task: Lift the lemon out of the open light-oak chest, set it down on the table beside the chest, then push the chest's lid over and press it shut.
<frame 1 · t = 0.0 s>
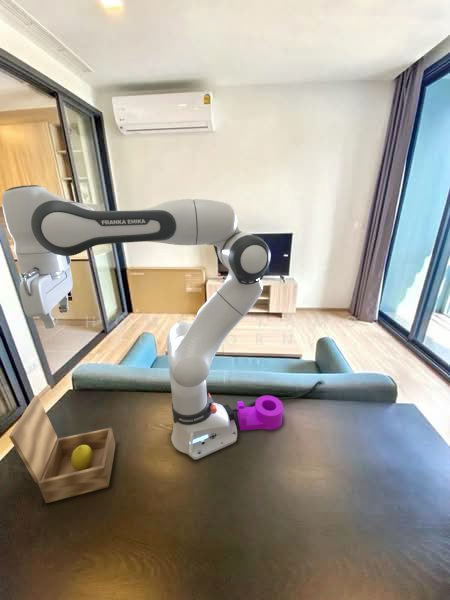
hand: (58, 318, 62), 48 cm above the table, tool pointing down, fingers open, 8 cm apart
lid: (36, 436, 66), point 16 cm above the table, hinge at 95.0°
lemon: (83, 469, 74), point 1 cm above the table, touching chest
magenta bearing bracket: (260, 419, 92), on the table
chest: (84, 471, 74), on the table
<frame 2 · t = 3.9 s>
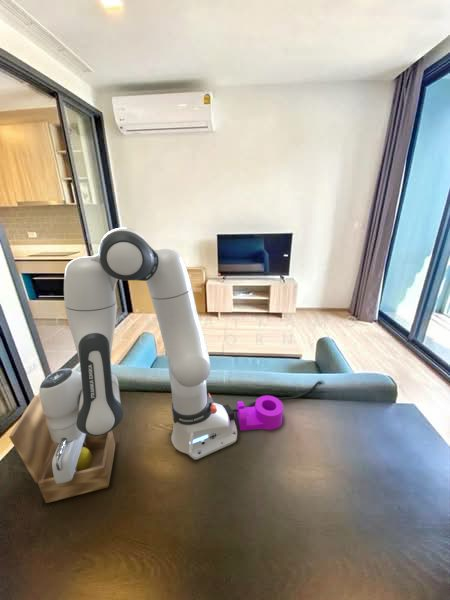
hand: (78, 461, 73), 4 cm above the table, tool pointing down, fingers closed on chest, 7 cm apart
nothing on the table moved.
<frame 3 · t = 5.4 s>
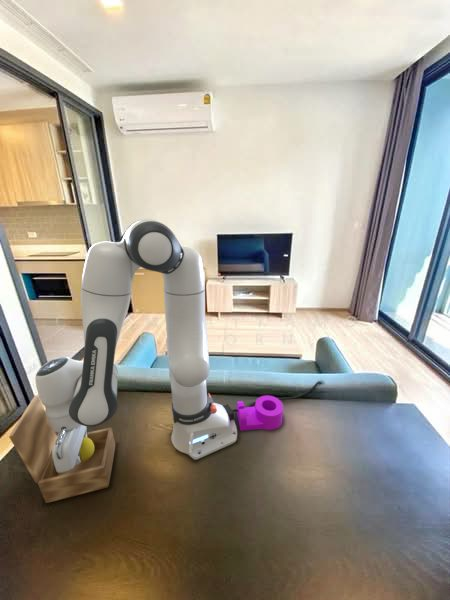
hand: (80, 451, 72), 8 cm above the table, tool pointing down, fingers closed on lemon, 5 cm apart
lemon: (87, 460, 73), point 4 cm above the table, touching gripper
everything else where it was.
when the fingers open (3 cm above the table, at t = 11.9 s): lemon stays where it is, on the table.
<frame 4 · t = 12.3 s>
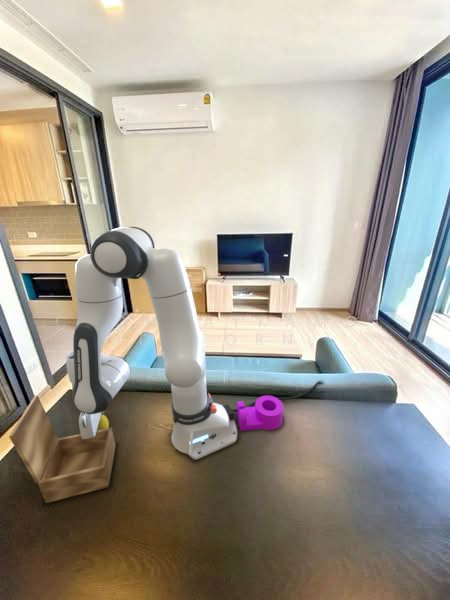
hand: (98, 425, 85), 4 cm above the table, tool pointing down, fingers open, 8 cm apart
lemon: (102, 434, 87), on the table
everything else where it was.
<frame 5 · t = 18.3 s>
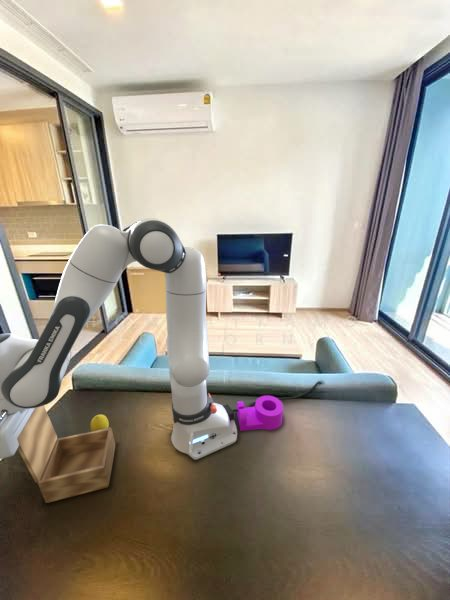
hand: (29, 438, 66), 16 cm above the table, tool pointing down, fingers closed, pressing on lid
lid: (37, 436, 67), point 16 cm above the table, hinge at 93.5°, touching gripper
everything else where it was.
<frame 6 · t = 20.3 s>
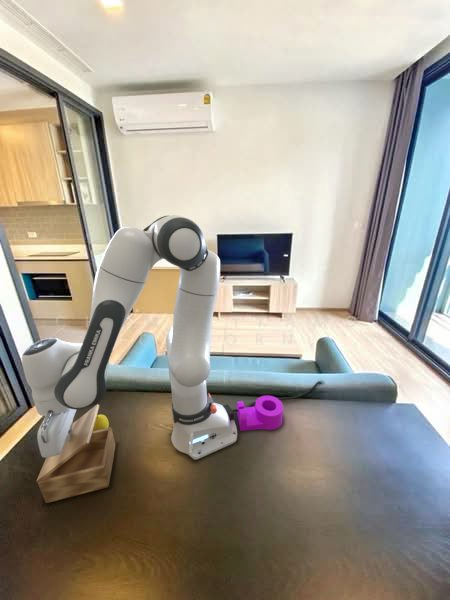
hand: (68, 437, 69), 14 cm above the table, tool pointing down, fingers closed, pressing on lid
lid: (70, 440, 69), point 13 cm above the table, hinge at 34.6°, touching gripper
everything else where it was.
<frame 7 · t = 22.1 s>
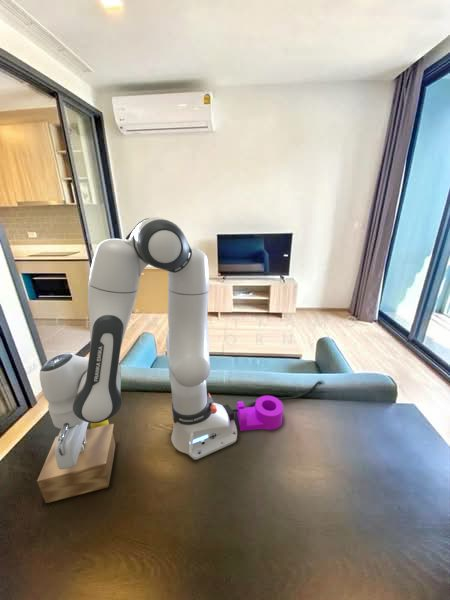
hand: (82, 448, 71), 9 cm above the table, tool pointing down, fingers closed
lid: (79, 450, 71), point 9 cm above the table, hinge at 2.0°
everything else where it was.
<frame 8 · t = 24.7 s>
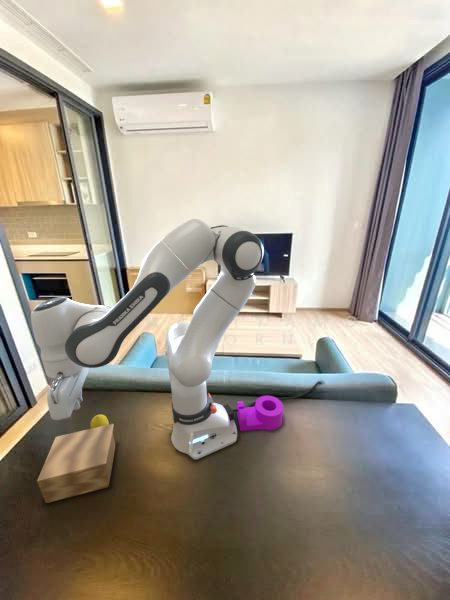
hand: (77, 405, 67), 24 cm above the table, tool pointing down, fingers closed
nothing on the table moved.
at the end: lemon inside the target area (0.6 cm from its centre), on the table; lid at +2° (first picture: +95°) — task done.
